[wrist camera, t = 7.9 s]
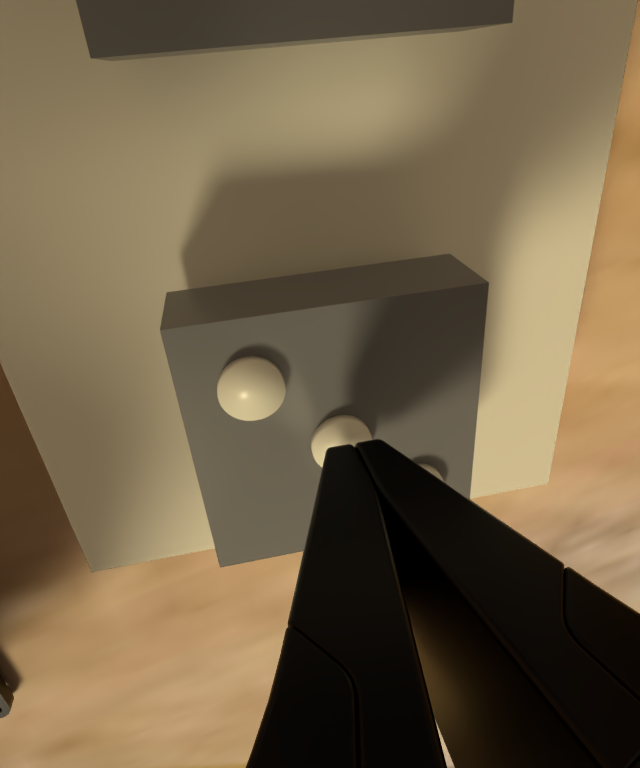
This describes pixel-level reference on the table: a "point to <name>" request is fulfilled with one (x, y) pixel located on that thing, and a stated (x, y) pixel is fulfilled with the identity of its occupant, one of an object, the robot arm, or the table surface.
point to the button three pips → (321, 386)
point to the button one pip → (268, 23)
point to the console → (285, 224)
